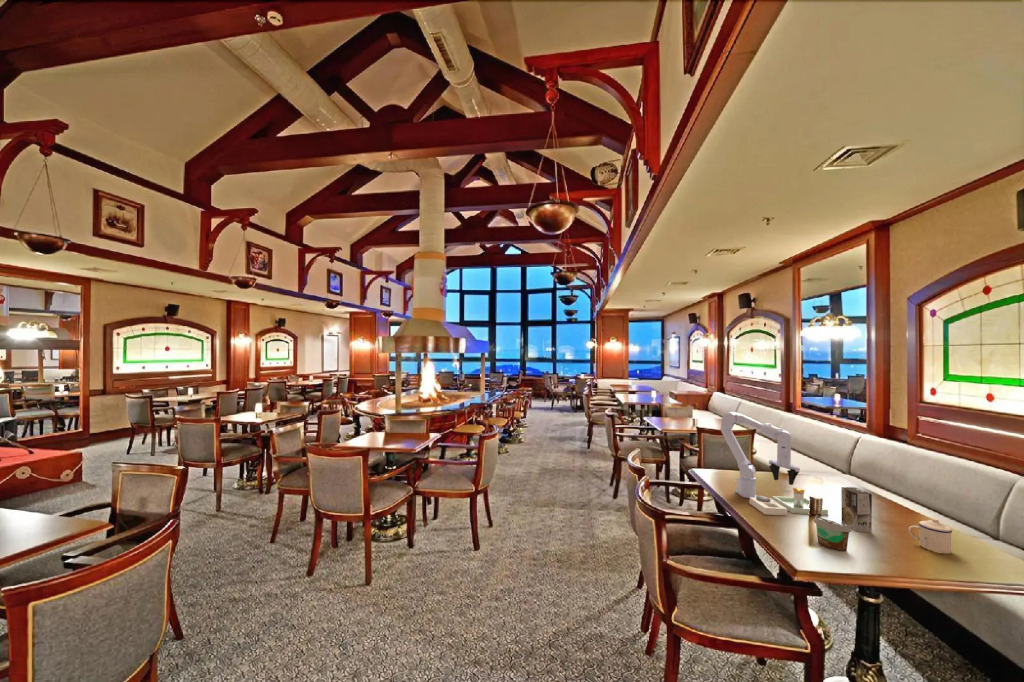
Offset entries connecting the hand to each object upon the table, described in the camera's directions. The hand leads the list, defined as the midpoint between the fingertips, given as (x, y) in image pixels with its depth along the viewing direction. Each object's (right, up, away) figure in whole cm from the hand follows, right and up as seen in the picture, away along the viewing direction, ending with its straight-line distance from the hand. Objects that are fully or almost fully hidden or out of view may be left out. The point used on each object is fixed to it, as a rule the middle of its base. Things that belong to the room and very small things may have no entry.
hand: (783, 482), depth 208 cm
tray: (+3, -10, -6) cm, 13 cm away
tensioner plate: (-14, -10, -9) cm, 19 cm away
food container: (-14, -9, -48) cm, 50 cm away
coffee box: (+13, -10, -28) cm, 33 cm away
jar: (+3, -10, -7) cm, 12 cm away
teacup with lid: (+27, -10, -46) cm, 54 cm away
